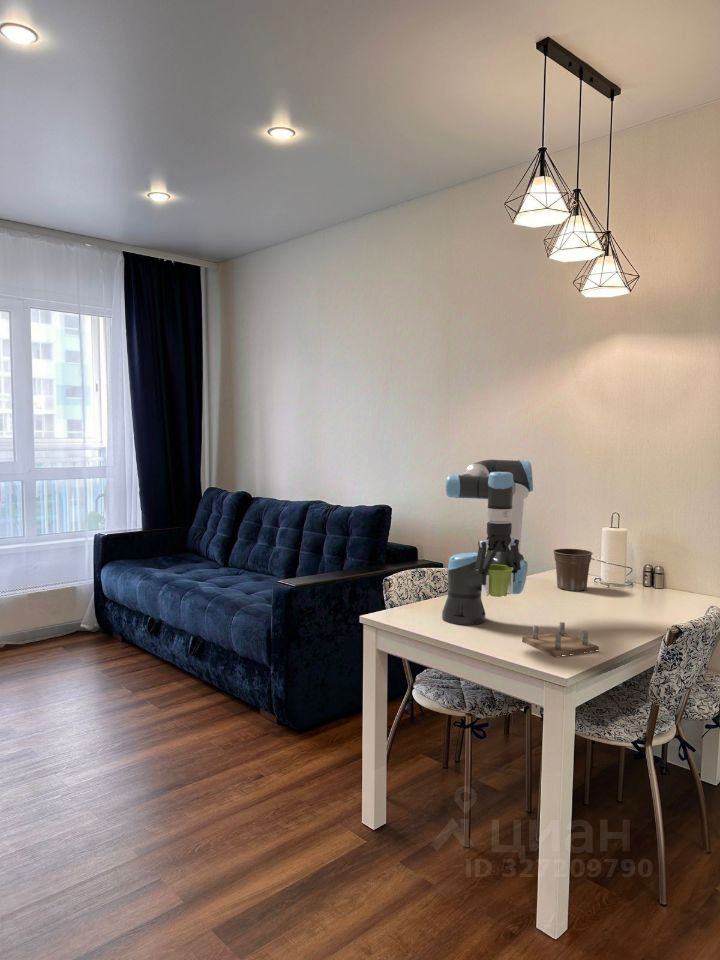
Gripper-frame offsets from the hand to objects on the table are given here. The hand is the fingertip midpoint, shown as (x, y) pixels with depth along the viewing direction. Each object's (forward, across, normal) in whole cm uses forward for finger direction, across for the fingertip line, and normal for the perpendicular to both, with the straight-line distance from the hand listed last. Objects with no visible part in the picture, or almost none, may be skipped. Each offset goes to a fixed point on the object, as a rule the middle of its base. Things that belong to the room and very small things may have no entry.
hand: (497, 593), depth 210 cm
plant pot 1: (+1, 0, 0) cm, 1 cm away
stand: (+15, +16, -11) cm, 25 cm away
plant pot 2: (+16, +77, +53) cm, 94 cm away
